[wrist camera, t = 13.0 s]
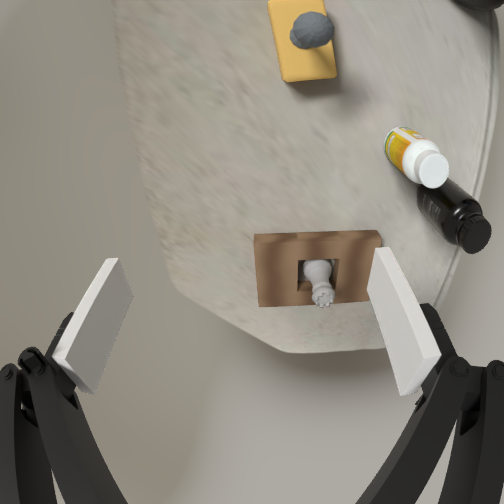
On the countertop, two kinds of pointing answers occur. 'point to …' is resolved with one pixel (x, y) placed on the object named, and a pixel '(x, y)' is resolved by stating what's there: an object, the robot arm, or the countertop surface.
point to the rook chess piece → (320, 281)
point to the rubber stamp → (302, 39)
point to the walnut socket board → (313, 248)
